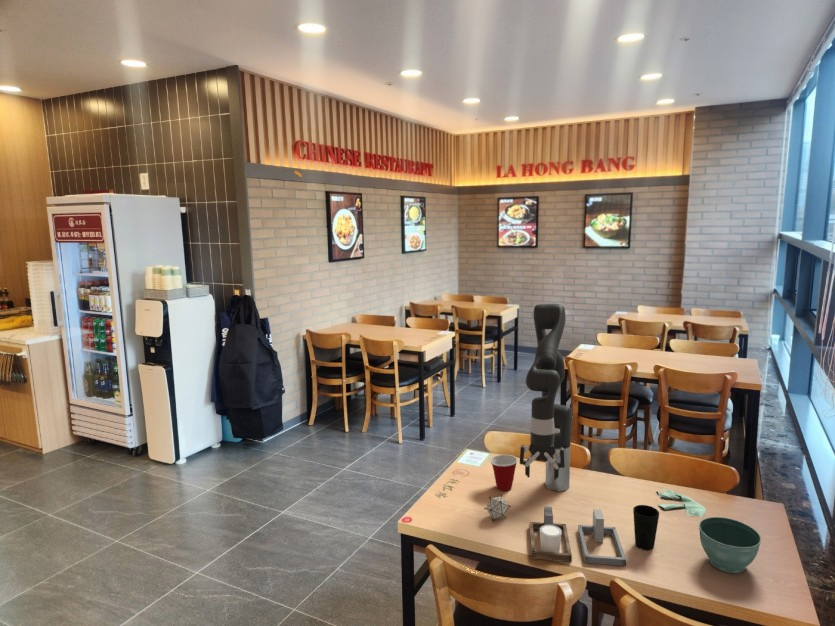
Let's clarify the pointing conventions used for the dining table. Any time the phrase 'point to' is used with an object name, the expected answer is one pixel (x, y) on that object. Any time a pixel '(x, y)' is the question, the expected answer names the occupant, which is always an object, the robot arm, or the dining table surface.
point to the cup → (645, 526)
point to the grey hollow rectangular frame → (598, 533)
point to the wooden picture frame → (550, 555)
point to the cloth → (690, 504)
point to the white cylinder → (550, 538)
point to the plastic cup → (504, 471)
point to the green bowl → (729, 543)
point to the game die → (497, 507)
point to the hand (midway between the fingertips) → (541, 477)
